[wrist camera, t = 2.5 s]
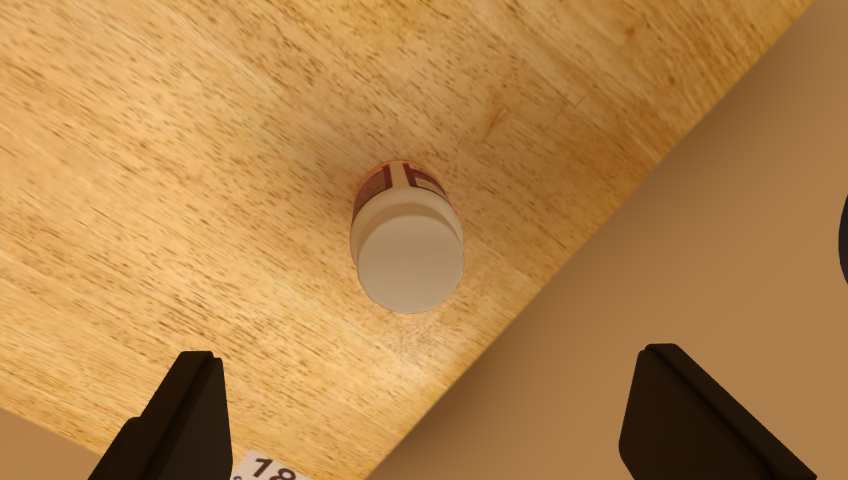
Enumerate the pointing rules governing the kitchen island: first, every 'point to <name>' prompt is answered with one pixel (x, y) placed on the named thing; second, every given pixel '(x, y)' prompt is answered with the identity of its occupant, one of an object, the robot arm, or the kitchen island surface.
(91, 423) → the kitchen island surface
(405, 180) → the pill bottle
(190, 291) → the kitchen island surface
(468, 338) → the kitchen island surface
